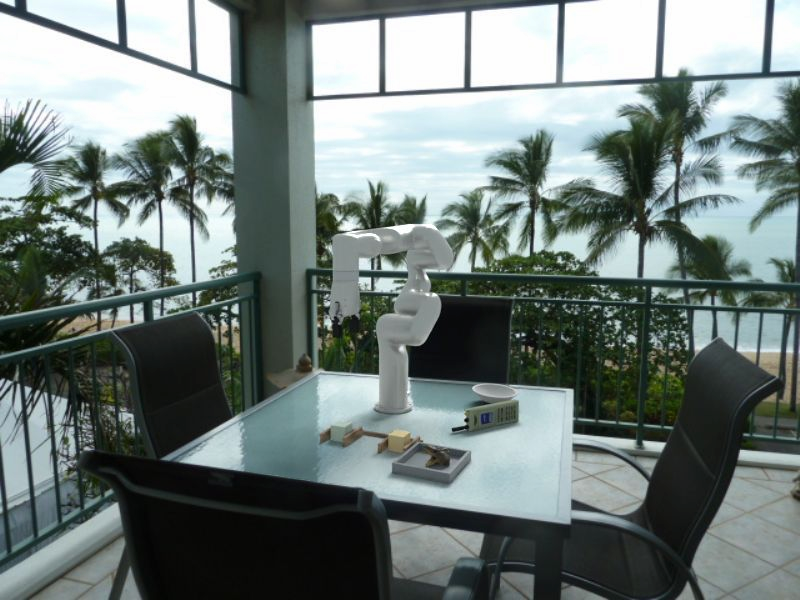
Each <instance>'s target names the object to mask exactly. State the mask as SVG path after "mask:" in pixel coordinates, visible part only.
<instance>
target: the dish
mask: <svg viewBox="0 0 800 600" xmlns="http://www.w3.org/2000/svg"><path fill="white" fill-rule="evenodd" d="M471 391H472V392H474V393H475V394H476V396H477V397H478V398H479V399H480V401H483V402H485V403H487V404H494V403H499V402H504V401H509V400H514V398H515V397H517V396H518V394H519V393H518V391H517V390H516V388H513V387H510V386H507V385H505V384H504V385H503V384H499V383H479V384H476V385H473V386H472V388H471Z"/></svg>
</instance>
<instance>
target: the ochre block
mask: <svg viewBox="0 0 800 600" xmlns="http://www.w3.org/2000/svg"><path fill="white" fill-rule="evenodd" d="M411 433H412V432H411V431H406V430H400V429H394V430H393V431H391V432H390V433H388V434H389V435H388V448H387V450H388V451H389V452H395V453H401V454H403V448H404V447H405V446H406V445H407V444H408V443H410V438H411Z"/></svg>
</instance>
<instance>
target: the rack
mask: <svg viewBox="0 0 800 600" xmlns="http://www.w3.org/2000/svg"><path fill="white" fill-rule="evenodd" d="M389 434H390V433H381V432H376V431H372V430H371V431H370V430H365V429H364V428H363V426H359V427H357V428H353V427H352V432H351V433H349V434H347V435H346V436H344V437H343V442H342V447H344V448H346V447H347V446H349V445H350V444H352V443H353V442H355V441H357V440H358V439H359V438H361V437H362V436H364V435H367V436H373V437H379V438H384V439H382V440H381V441H379V442H378V443H377V454H382V453H383V452H384V451H385V450H386V449H387V450H388V435H389ZM329 439H331V426H330V427H329V428H327V429H325V430H323V431H322V432H320V433H319V442H320V443H324V442H326V441H327V440H329ZM417 442H423V443H424V439H421V436H420V435H417V436H416V437H415V438H414V437H413V438H412V437H410V443H408V444H407V445H406V446H405V447H404V448H403V453H405V452H406V451H407V450H408V449H409V448H411V447H412V446H413V445H414V444H416V443H417ZM403 453H402V454H403Z"/></svg>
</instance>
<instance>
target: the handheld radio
mask: <svg viewBox="0 0 800 600" xmlns="http://www.w3.org/2000/svg"><path fill="white" fill-rule="evenodd" d="M519 403H520V401H519V400H518V399H512V400H509V401H504V402H499V403H494V404H491V403H487V404H484V405H479V406H474V407H469V408H464V411H465V412H464V416H465V418H464V419H463V422H464V423H465V425H461V426H455V427H451V432H452V433H456V432H461V431H465V430H466V431H468V432H473V431H477V430H482V429H487V428H491V427H497V426H501V425H506V424H510V423H514V422H519V419H520V415H519V414H520V411H519V410H520V407H519V405H520V404H519Z"/></svg>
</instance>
